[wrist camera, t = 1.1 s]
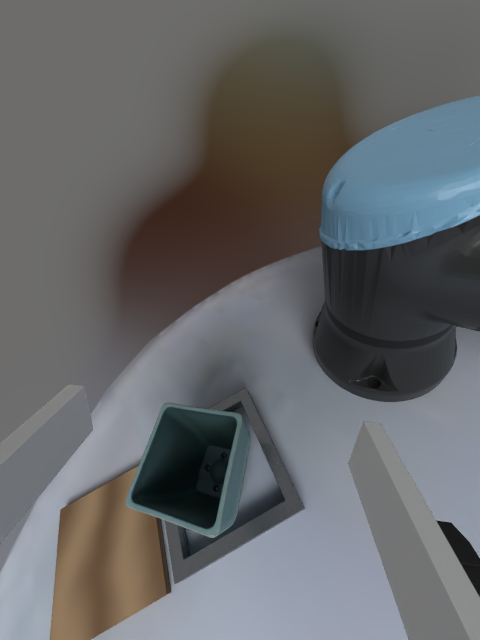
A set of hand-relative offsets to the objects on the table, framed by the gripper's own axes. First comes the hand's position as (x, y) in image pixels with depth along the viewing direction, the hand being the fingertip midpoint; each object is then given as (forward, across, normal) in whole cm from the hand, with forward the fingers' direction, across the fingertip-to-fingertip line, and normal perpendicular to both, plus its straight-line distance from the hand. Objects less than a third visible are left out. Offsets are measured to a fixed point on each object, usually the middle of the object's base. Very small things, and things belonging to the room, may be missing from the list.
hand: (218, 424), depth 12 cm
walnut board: (+5, -12, -25) cm, 28 cm away
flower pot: (+10, -1, -18) cm, 20 cm away
